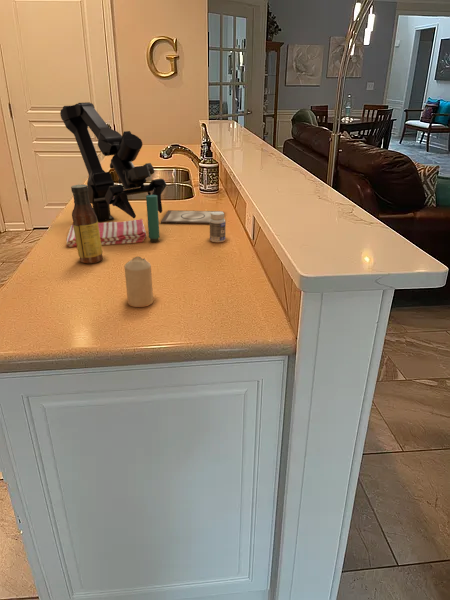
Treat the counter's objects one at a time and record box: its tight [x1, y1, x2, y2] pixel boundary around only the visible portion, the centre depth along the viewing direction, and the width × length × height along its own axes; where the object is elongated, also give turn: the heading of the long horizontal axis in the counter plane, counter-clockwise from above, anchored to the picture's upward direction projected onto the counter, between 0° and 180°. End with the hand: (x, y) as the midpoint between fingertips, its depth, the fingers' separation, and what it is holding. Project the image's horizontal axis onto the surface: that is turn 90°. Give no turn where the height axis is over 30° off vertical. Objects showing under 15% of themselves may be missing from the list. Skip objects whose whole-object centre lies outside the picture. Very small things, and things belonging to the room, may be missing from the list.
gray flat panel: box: [160, 209, 224, 225], centre depth 164 cm, size 20×15×1 cm
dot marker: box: [145, 194, 161, 243], centre depth 138 cm, size 3×3×14 cm
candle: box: [124, 256, 154, 308], centre depth 101 cm, size 6×6×10 cm
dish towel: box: [65, 218, 148, 248], centre depth 145 cm, size 17×23×4 cm
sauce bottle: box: [70, 183, 103, 264], centre depth 122 cm, size 6×6×20 cm
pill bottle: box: [209, 210, 227, 243], centre depth 140 cm, size 5×5×8 cm
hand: (148, 214), depth 140 cm, fingers open, 9 cm apart
